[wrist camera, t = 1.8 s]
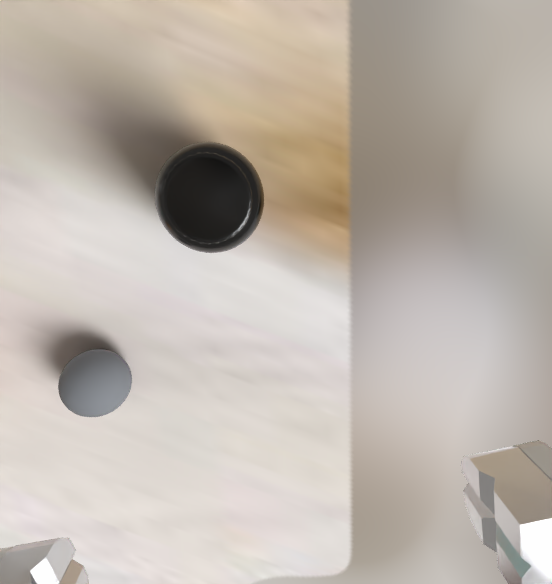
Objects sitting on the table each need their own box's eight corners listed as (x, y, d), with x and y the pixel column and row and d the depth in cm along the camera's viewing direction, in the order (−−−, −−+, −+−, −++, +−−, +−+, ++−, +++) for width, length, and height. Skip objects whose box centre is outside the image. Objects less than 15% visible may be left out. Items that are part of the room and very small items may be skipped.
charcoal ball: (69, 389, 34) (41, 425, 28) (79, 334, 32) (50, 360, 27) (132, 399, 35) (115, 436, 29) (143, 346, 33) (128, 373, 28)
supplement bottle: (258, 162, 31) (278, 140, 20) (250, 243, 33) (264, 268, 21) (174, 151, 30) (143, 120, 18) (170, 235, 32) (139, 256, 20)
